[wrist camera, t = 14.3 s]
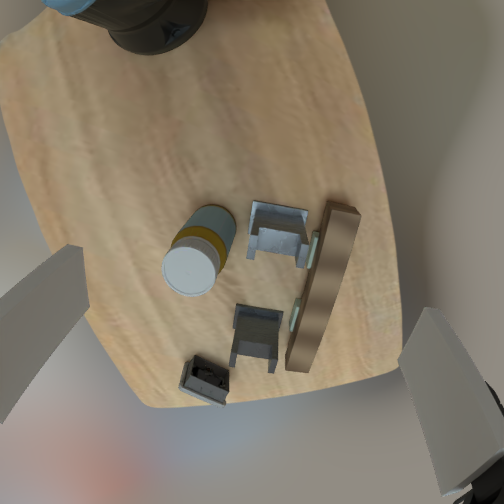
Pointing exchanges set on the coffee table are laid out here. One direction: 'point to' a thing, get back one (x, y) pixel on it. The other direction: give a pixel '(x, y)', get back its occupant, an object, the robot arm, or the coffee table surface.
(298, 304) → the blocks
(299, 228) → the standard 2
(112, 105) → the coffee table surface
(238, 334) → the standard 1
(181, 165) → the coffee table surface
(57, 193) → the coffee table surface
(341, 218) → the rail
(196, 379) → the electrical switch
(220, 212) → the bottle
